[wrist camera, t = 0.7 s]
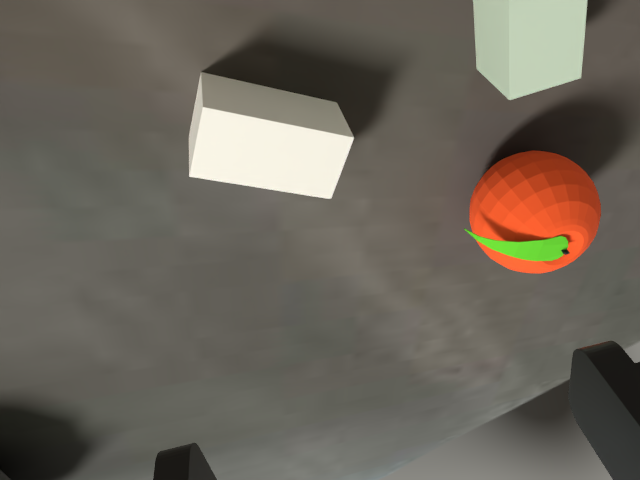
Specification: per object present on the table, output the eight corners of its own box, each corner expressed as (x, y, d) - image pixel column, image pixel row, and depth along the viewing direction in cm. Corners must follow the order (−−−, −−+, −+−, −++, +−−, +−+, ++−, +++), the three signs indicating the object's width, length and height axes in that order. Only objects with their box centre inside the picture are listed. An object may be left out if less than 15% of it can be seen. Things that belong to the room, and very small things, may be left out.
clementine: (426, 230, 35) (470, 310, 30) (445, 132, 31) (500, 205, 25) (541, 220, 36) (602, 294, 31) (574, 125, 32) (653, 192, 27)
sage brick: (468, -79, 24) (508, -61, 21) (543, -103, 24) (594, -88, 21) (475, 67, 29) (509, 100, 26) (539, 47, 29) (580, 78, 26)
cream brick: (188, 135, 28) (189, 176, 25) (200, 70, 26) (202, 106, 23) (316, 158, 31) (330, 199, 27) (336, 101, 29) (354, 137, 26)
